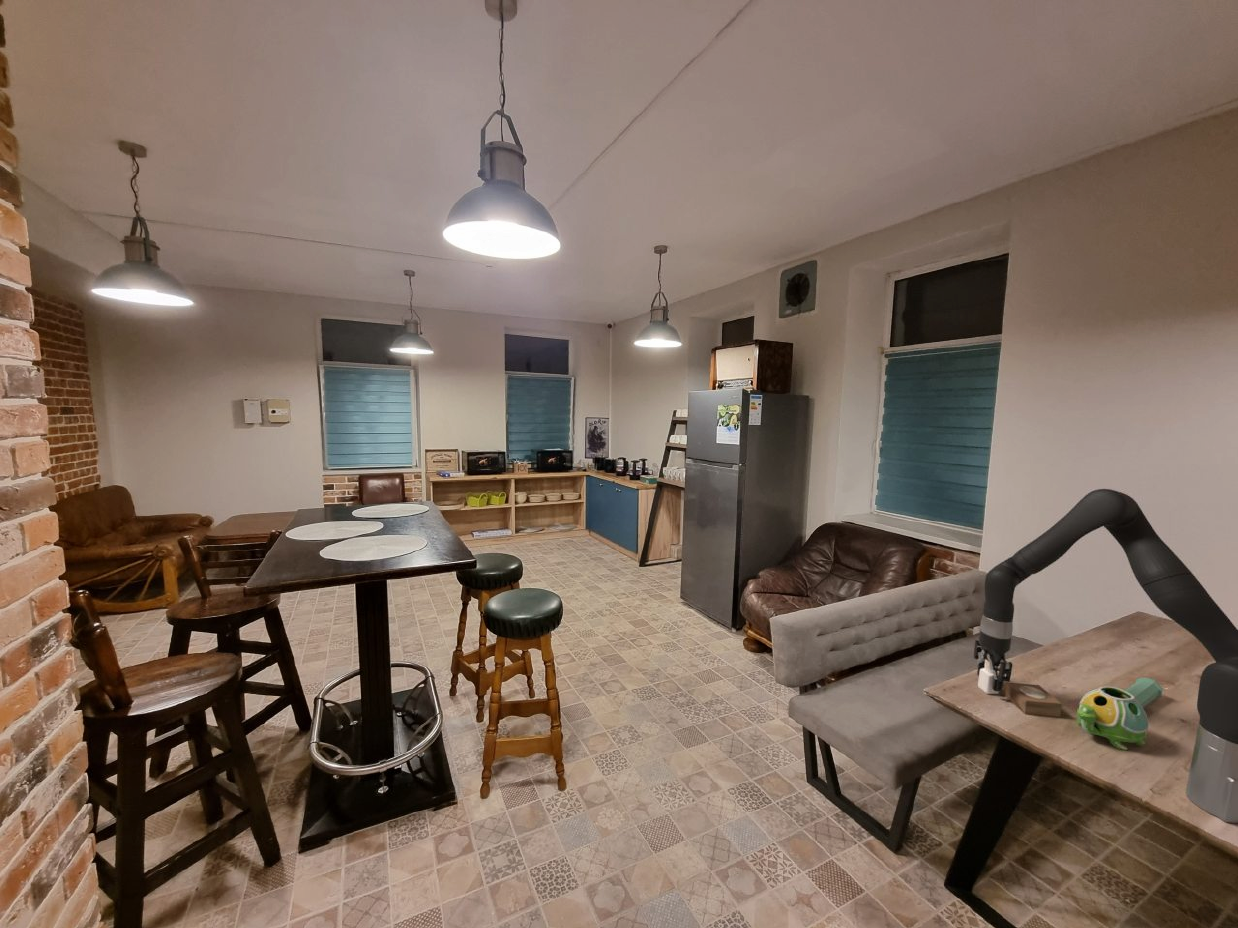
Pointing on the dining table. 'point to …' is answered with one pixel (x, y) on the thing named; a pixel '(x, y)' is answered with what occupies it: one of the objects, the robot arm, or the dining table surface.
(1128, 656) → the dining table surface
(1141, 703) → the container
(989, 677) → the salt shaker
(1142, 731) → the turtle holder
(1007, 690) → the base
